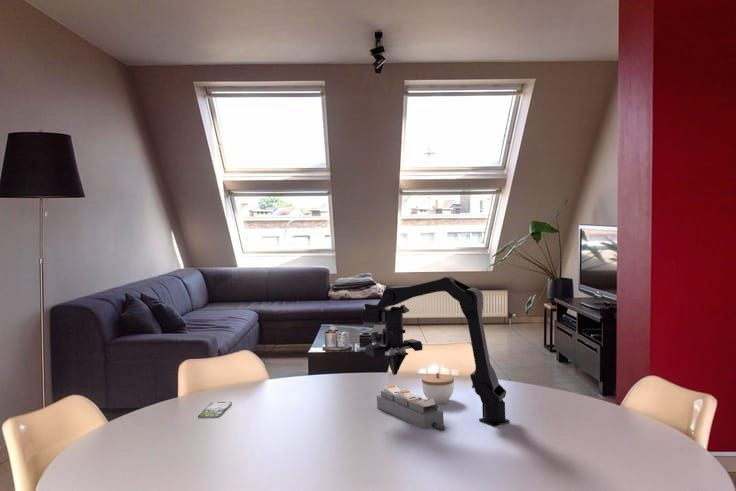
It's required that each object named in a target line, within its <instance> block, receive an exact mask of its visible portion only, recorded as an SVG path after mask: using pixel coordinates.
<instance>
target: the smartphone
mask: <svg viewBox="0 0 736 491" xmlns="http://www.w3.org/2000/svg"><path fill="white" fill-rule="evenodd" d="M231 406H233V402H232V401H213V402H210V404H208V405H207V407H205V409H204V410H202V411H201V413H200V414H199V415H197V418H198V419H218V418H221V417H222V416H223V415H224V414H225V413H226V412H227V411H228V409H230V408H231Z"/></svg>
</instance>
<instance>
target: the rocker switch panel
mask: <svg viewBox="0 0 736 491" xmlns="http://www.w3.org/2000/svg"><path fill="white" fill-rule="evenodd" d="M416 396H417V397H418V398H419V400H421V399H423V398H422V397H421V396H418V395H416ZM394 398H395V399H394ZM376 408H377V409H378V410H380V411H383V412H385V413H388V414H390V415H392V416H395V418H396V417H397V418H399V419H401V420H403V421H406V422H408V423H410V424H412V425H414V426H416V427H419V428H421V429H422V430H426V429H431V428H435V429H438V430H439V431H444V430H445V425H444V424H445V423H444V421H445V420H444V411H443V410H441V409H440V408H439V404H437V403H435V405H431V406H426V407H422V406H420V405H417V404H415V403H412V402H409V403H408V401H407V400H405V399H402V398H400V397H397V396H394V395H392V394H390V393H387V392H385V391H384V390H380V394H378V395H376Z"/></svg>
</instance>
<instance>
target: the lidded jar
mask: <svg viewBox="0 0 736 491" xmlns="http://www.w3.org/2000/svg"><path fill="white" fill-rule="evenodd" d="M454 382H455V378H454V377H453V376H452V375H449V374H443V373H441V374H440V373H439V372H436V373H435V374H434V373H433V374H428V375H424V376H422V377H421V385H422V386H421V387H422V392H423V394H424V396H425V399H434V403H436V404H438V405H439V404H446V403H447V402H448V401H449V399H450V398H452V396H453V394H454V385H455V383H454Z"/></svg>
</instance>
